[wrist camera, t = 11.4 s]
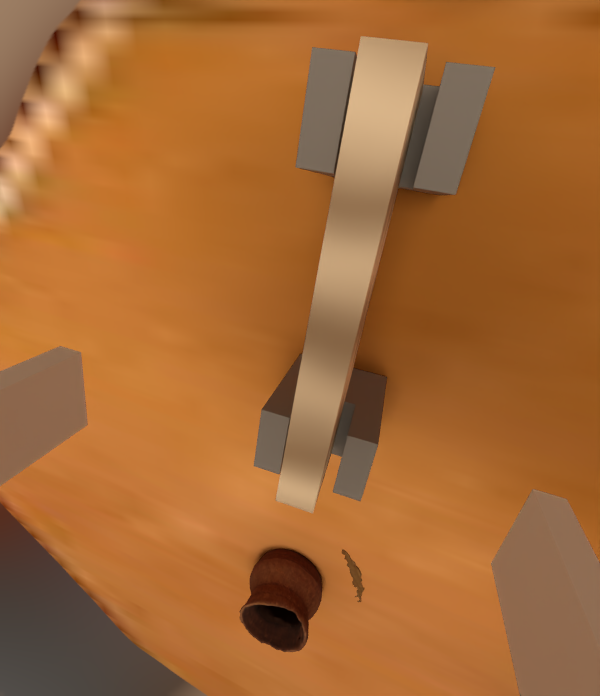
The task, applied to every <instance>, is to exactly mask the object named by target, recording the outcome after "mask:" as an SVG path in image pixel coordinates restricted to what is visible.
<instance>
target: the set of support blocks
mask: <svg viewBox="0 0 600 696" xmlns="http://www.w3.org/2000/svg"><path fill="white" fill-rule="evenodd" d="M356 60H357V55H356V53H355V52H351V51H342V50H333V49H324V48H315V47H312V54H311V61H310V68H309V75H308V82H307V89H306V97H305V104H304V111H303V118H302V125H301V132H300V139H299V147H298V154H297V161H296V167H297V168H301V169H305V170H309V171H312V172H316V173H320V174H324V175H328V176H332V177H335V174H336V169H337V164H338V158H339V153H340V147H341V142H342V136H343V131H344V125H345V120H346V115H347V109H348V104H349V98H350V93H351V87H352V82H353V77H354V71H355V66H356ZM494 70H495V67H487V66H478V65H469V64H460V63H451V62H446V65H445V69H444V73H443V77H442V80H441V84H440V87H439V86H431V85H423V92H422V96H421V100H420V104H419V108H418V112H417V116H416V120H415V124H414V128H413V132H412V136H411V140H410V144H409V148H408V152H407V156H406V160H405V164H404V168H403V172H402V176H401V179H400V183H399V187H398V188H401V189H407V190H413V191H418V192H424V193H430V194H436V195H456V192H457V189H458V186H459V182H460V179H461V176H462V173H463V170H464V166H465V163H466V160H467V157H468V153H469V150H470V147H471V144H472V141H473V137H474V134H475V131H476V128H477V125H478V121H479V118H480V115H481V112H482V108H483V105H484V102H485V99H486V96H487V92H488V89H489V86H490V83H491V79H492V76H493V73H494ZM301 360H302V354H300V355H299V357H298V358H297V360H296V361H295V362H294V364H293V365H292V367H291V368H290V370H289V371H288V372H287V374H286V375H285V377H284V378H283V380H282V381H281V383H280V384H279V385H278V387H277V388H276V390H275V391H274V393H273V394H272V395H271V397H270V398H269V400H268V401H267V403H266V404H265V405H264V407H263V408H262V411H261V418H260V425H259V432H258V439H257V446H256V454H255V461H254V466H255V467H258V468H261V469H264V470H268V471H271V472H274V473H277V474H280V472H281V468H282V463H283V457H284V452H285V447H286V441H287V436H288V430H289V425H290V419H291V414H292V408H293V403H294V398H295V392H296V387H297V381H298V376H299V370H300V365H301ZM386 380H387V377H385V376H381V375H378V374H374V373H370V372H366V371H363V370H359V369H355V368H353V371H352V374H351V378H350V382H349V386H348V390H347V394H346V398H345V402H344V406H343V410H342V414H341V418H340V422H339V426H338V430H337V434H336V438H335V442H334V446H333V449H332V454H335V455H338V456H341V457H342V459H341V462H340V466H339V470H338V474H337V478H336V482H335V485H334V489H333V492H334V493H337V494H340V495H343V496H346V497H349V498H352V499H355V500H358V501H361V498H362V495H363V492H364V488H365V485H366V482H367V479H368V476H369V472H370V469H371V466H372V463H373V459H374V456H375V453H376V450H377V447H378V442H379V434H380V426H381V419H382V411H383V403H384V395H385V388H386Z"/></svg>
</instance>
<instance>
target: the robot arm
mask: <svg viewBox="0 0 600 696" xmlns="http://www.w3.org/2000/svg"><path fill="white" fill-rule="evenodd" d="M87 425H88V423H87V412H86V402H85V391H84V380H83V369H82V358H81V352H78V351H75V350H72V349H68V348H65V347H62V346H60V347H57V348H55V349H52V350H50V351H48V352H45V353H43V354H41V355H38V356H36V357H33V358H31V359H29V360H26V361H24V362H22V363H19V364H17V365H14V366H12V367H10V368H7V369H5V370H3V371H0V486H1V485H2V484H4V483H5V482H7V481H8V480H10V479H11V478H12V477H14V476H15V475H17V474H18V473H20V472H21V471H22V470H24V469H25V468H27V467H28V466H30V465H31V464H32V463H34V462H35V461H37V460H38V459H40V458H41V457H42V456H44V455H45V454H47V453H48V452H50V451H51V450H52V449H54V448H55V447H57V446H58V445H60V444H61V443H62V442H64V441H65V440H67V439H68V438H70V437H71V436H72V435H74V434H75V433H77V432H78V431H80V430H81V429H82V428H84V427H85V426H87ZM491 565H492V570H493V574H494V579H495V583H496V588H497V592H498V597H499V602H500V606H501V611H502V615H503V620H504V625H505V629H506V634H507V638H508V643H509V648H510V652H511V657H512V661H513V666H514V670H515V675H516V680H517V684H518V689H519V693H520V696H600V563H599V561H598V559H597V557H596V555H595V553H594V551H593V549H592V547H591V545H590V543H589V541H588V539H587V537H586V536H585V534H584V532H583V530H582V528H581V526H580V524H579V522H578V520H577V518H576V516H575V514H574V512H573V510H572V508H571V506H570V505H569V503H568V501H567V499H565V498H561V497H558V496H555V495H551V494H548V493H545V492H541V491H538V490H535V489H533V490H532V491H531V493H530V495H529V497H528V498H527V500H526V502H525V504H524V506H523V507H522V509H521V511H520V513H519V515H518V516H517V518H516V520H515V522H514V524H513V525H512V527H511V529H510V531H509V532H508V534H507V536H506V538H505V540H504V541H503V543H502V545H501V547H500V549H499V550H498V552H497V554H496V556H495V557H494V559H493V561H492V563H491Z"/></svg>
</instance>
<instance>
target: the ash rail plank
mask: <svg viewBox="0 0 600 696" xmlns="http://www.w3.org/2000/svg"><path fill="white" fill-rule="evenodd" d="M427 50H428V43H422V42H412V41H403V40H393V39H384V38H374V37H364V36H361V38H360V44H359V49H358V55H357V60H356V66H355V71H354V77H353V82H352V87H351V93H350V98H349V104H348V109H347V115H346V120H345V125H344V131H343V136H342V142H341V147H340V153H339V158H338V164H337V169H336V174H335V180H334V185H333V191H332V196H331V202H330V207H329V213H328V218H327V223H326V229H325V234H324V240H323V245H322V251H321V256H320V262H319V267H318V272H317V278H316V283H315V289H314V294H313V300H312V305H311V311H310V316H309V321H308V327H307V332H306V338H305V343H304V349H303V354H302V360H301V365H300V370H299V376H298V381H297V387H296V392H295V398H294V403H293V408H292V414H291V419H290V425H289V430H288V436H287V441H286V447H285V452H284V457H283V463H282V468H281V474H280V479H279V485H278V490H277V496H276V501H278V502H281V503H284V504H287V505H290V506H293V507H296V508H299V509H301V510H304V511H307V512H310V513H313V511H314V508H315V505H316V502H317V498H318V495H319V492H320V489H321V485H322V482H323V479H324V476H325V472H326V469H327V466H328V463H329V459H330V456H331V453H332V449H333V446H334V442H335V438H336V434H337V430H338V426H339V422H340V418H341V414H342V410H343V406H344V402H345V398H346V394H347V390H348V386H349V382H350V378H351V374H352V371H353V367H354V363H355V359H356V355H357V351H358V347H359V343H360V339H361V335H362V331H363V327H364V323H365V319H366V315H367V311H368V307H369V303H370V299H371V295H372V291H373V287H374V283H375V279H376V275H377V271H378V267H379V263H380V259H381V255H382V251H383V247H384V243H385V239H386V235H387V231H388V227H389V223H390V219H391V215H392V211H393V207H394V203H395V199H396V195H397V191H398V187H399V183H400V179H401V176H402V172H403V168H404V164H405V160H406V156H407V152H408V148H409V144H410V140H411V136H412V132H413V128H414V124H415V120H416V116H417V112H418V108H419V104H420V100H421V96H422V92H423V84H424V75H425V67H426V58H427Z"/></svg>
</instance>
